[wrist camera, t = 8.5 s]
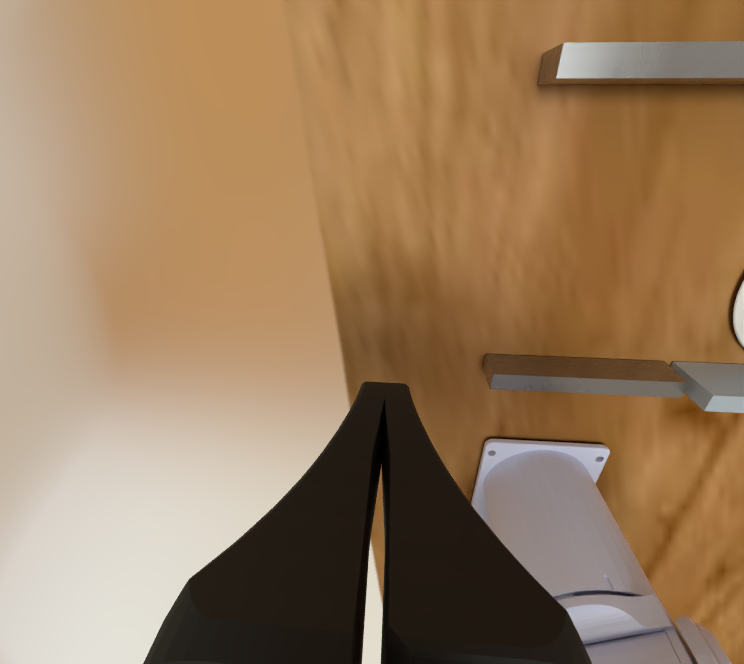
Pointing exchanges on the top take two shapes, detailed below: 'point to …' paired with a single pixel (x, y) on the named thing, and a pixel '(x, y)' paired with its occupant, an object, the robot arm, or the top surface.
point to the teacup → (739, 315)
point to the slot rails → (616, 67)
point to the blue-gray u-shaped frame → (714, 385)
